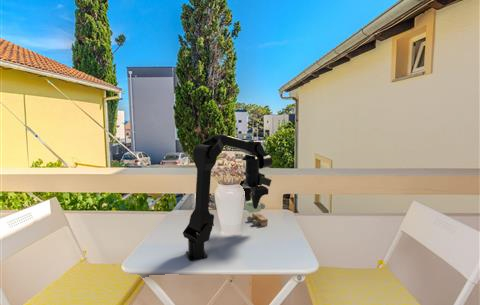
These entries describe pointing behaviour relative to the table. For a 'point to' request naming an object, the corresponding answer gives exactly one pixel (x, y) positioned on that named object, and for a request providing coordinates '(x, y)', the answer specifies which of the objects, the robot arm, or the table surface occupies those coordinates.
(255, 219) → the hinge base
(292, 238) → the table surface
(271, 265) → the table surface
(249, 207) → the hinge leaf
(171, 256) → the table surface
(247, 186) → the robot arm
